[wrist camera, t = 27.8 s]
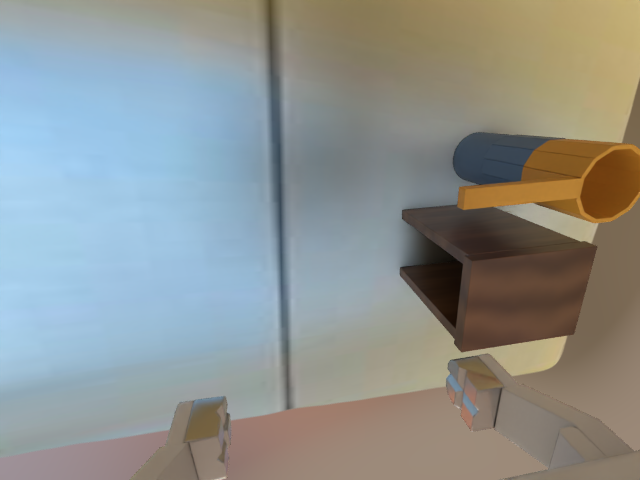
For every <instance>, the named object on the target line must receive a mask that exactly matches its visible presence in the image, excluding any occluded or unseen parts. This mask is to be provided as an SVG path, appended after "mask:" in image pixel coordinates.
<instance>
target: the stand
mask: <svg viewBox="0 0 640 480" xmlns="http://www.w3.org/2000/svg"><path fill="white" fill-rule="evenodd" d="M402 219H403V220H405V221H406V222H407V223H409V224H410V225H411V226H413V227H414V228H415V229H417V230H418V231H419V232H421V233H422V234H424V235H425V236H426V237H428V238H429V239H430V240H432V241H433V242H434V243H436V244H437V245H438V246H440V247H441V248H442V249H444V250H445V251H446V252H448V253H449V254H450V255H452V256H453V257H455V258H456V259H457V260H459V261H451V262H443V263H435V264H426V265H418V266H410V267H401V268H400V276H401V277H402V278H403V279H404V280H405V282H406V283H407V284H408V285H409V286H410V287H411V289H412V290H413V291H414V292H415V293H416V294H417V296H418V297H419V298H420V299H421V300H422V301H423V303H424V304H425V305H426V306H427V307H428V308H429V310H430V311H431V312H432V313H433V314H434V315H435V317H436V318H437V319H438V320H439V321H440V322H441V324H442V325H443V326H444V327H445V328H446V329H447V331H448V332H449V333H450V334H451V335H452V336H453V338H454V339H455V341H454V344H455V345H456V347H457V348H458V349H459V350H460V351H461V352H466V351H472V350H478V349H485V348H491V347H497V346H504V345H510V344H516V343H523V342H529V341H535V340H542V339H548V338H554V337H561V336H567V335H573V334H574V332H575V329H576V325H577V321H578V317H579V313H580V310H581V306H582V302H583V298H584V294H585V291H586V287H587V284H588V280H589V276H590V272H591V269H592V265H593V261H594V257H595V253H596V250H597V246H595V245H593V244H590V243H588V242H585V241H583V242H580V241H577V240H575V239H572V238H570V237H567V236H565V235H562V234H560V233H557V232H555V231H552V230H550V229H547V228H545V227H542V226H540V225H537V224H535V223H532V222H530V221H527V220H525V219H522V218H520V217H517V216H515V215H512V214H510V213H507V212H505V211H502V210H500V209H497V208H495V207H486V208H477V209H467V210H463V209H461V208H459V207H457V205H450V206H439V207H429V208H418V209H408V210H402Z"/></svg>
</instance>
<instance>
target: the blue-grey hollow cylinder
mask: <svg viewBox="0 0 640 480" xmlns="http://www.w3.org/2000/svg"><path fill="white" fill-rule="evenodd" d="M555 139H565V138H554V137H541V136H528V135H507V134H494V133H481V132H478V133H473V134H471V135H469V136H467V137H466V138H464V139H463V140H462V141H461V142H460V143H459V145H458V146H457V148H456V150H455V153H454V158H453V165H454V169H455V171H456V173H457V175H458V176H459V177H460V178H462V179H464V180H466V181H470V182H473V183H476V184H479V185H485V184H496V183H507V182H518V181H521V177H522V171H523V167H524V165H525V163H526V161H527V160H528V158H529V157H530V155H531V154H532V152H533V151H534V150H535V149H537V148H538V147H540V146H541V145H543V144H544V143H546V142H547V141H549V140H555Z"/></svg>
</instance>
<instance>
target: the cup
mask: <svg viewBox="0 0 640 480" xmlns="http://www.w3.org/2000/svg"><path fill="white" fill-rule="evenodd" d="M639 197H640V149H639V148H637V147H636V146H635V145H633V144H625V143H612V142H599V141H587V140H574V139H555V140H549V141H547V142H546V143H544V144H543V145H541V146H540V147H538V148H537V149H535V150H534V151H533V152H532V154H531V155H530V157H529V158H528V160H527V161H526V163H525V165H524V167H523V171H522V177H521V181H518V182H507V183H496V184H485V185H474V186H463V187H459V194H458V205H457V207H459V208H461V209H463V210H467V209H477V208H486V207H496V206H506V205H516V204H526V203H535V204H537V205H540V206H543V207H546V208H549V209H552V210H555V211H558V212H561V213H565V214H568V215H571V216H574V217H577V218H580V219H583V220H586V221H589V222H592V223H600V222H609V221H613V220H615V219H616V218H618V217H619V216H621V215H623V214H624V213H626V212H627V211H629V209H631V208H632V206H633V205H634V204H635V202H636V201H637V200H638V198H639Z"/></svg>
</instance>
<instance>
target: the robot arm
mask: <svg viewBox="0 0 640 480" xmlns="http://www.w3.org/2000/svg"><path fill="white" fill-rule="evenodd" d="M448 370H449V372H450V375H449V376H448V377H447V378H446V388H447V393H448V395H449V398H450V400H451V401H452V403H453V404H454V406H456V407H458V408H459V409H461V417H462V418H463V420H464V421H465V422H466V424H467V426H468V427H469V429H470V430H471V431H478V430H484V429H491V428H494V429H495V430H496V431H498V432H499V433H500V434H502V435H503V436H504V437H506V438H507V439H509V440H510V441H511V442H513V443H514V444H516V445H517V446H519V447H520V448H521V449H523V450H524V451H525V452H527V453H528V454H530V455H531V456H532V457H534V458H535V459H537V460H538V461H539V462H541V463H542V464H544V465H545V466H547V467H548V468H549V469H548V470H544V471H538V472H534V473H529V474H525V475H520V476H515V477H510V478H505V479H501V480H640V450H638V451H634V450H633V449H631V448H630V447H629V446H628V445H627V444H626V443H625V442H624V441H623V440H622V439H621V438H619V437H618V436H617V435H616V434H615V433H614V432H613V431H612V430H611V429H609V428H608V427H607V426H606V425H605V424H604V423H603V422H602V421H600V420H599V419H597V418H595V417H593V416H591V415H589V414H586V413H584V412H582V411H580V410H578V409H576V408H573V407H571V406H569V405H567V404H565V403H563V402H561V401H558V400H556V399H554V398H552V397H550V396H548V395H546V394H543V393H541V392H539V391H537V390H535V389H533V388H531V387H528V386H526V385H524V384H521V385H519V384H518V383H517V382H516V380H514V378H513V377H512V376H511V375H510V374H509V373H508V372H507V371H506V370H505V369H504V368H503V367H502V366H501V365H500V364H499V363H498V362H497V361H496V360H495V359H494V358H493V357H492V356H491V355H490V354H483V355H477V356H472V357H466V358H460V359H454V360H450V361H449V363H448ZM227 405H228V404H227V400H226V397H225V396H221V397H213V398H206V399H198V400H194V401H186V402H180V403H179V404H178V406H177V408H176V411H175V414H174V418H173V421H172V424H171V428H170V431H169V434H168V438H167V441H166V444H165V446H164V447H160V448H159V449H158V450H157V451H156V452H155V453H154V454H153V456H152V457H150V458H149V460H148V461H147V462H146V463H145V464H144V465H143V466H142V467H141V468H140V469H139V470H138V471H137V472H136V473H135V474H134V476H132V477H131V479H130V480H220V479H224V478H227V475H228V465H229V454H228V447H229V446H230V445H231V420H230V414H228V413H227Z"/></svg>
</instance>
